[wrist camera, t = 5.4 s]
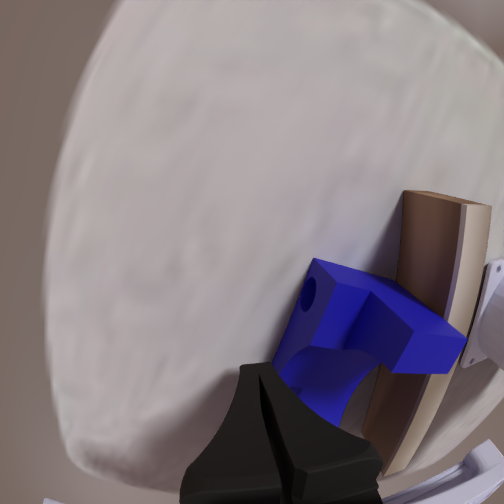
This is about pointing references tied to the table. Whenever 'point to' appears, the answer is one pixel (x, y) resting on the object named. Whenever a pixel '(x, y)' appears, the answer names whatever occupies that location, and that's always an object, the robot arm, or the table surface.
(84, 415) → the table surface
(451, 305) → the bar
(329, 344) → the cable clip
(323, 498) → the robot arm
